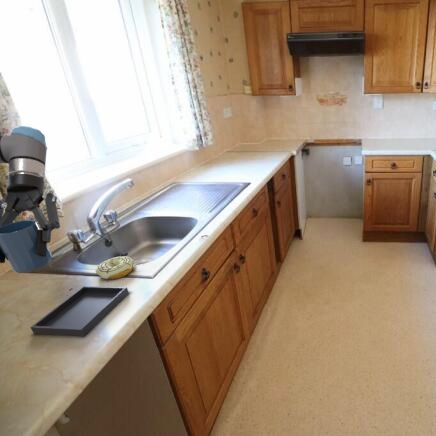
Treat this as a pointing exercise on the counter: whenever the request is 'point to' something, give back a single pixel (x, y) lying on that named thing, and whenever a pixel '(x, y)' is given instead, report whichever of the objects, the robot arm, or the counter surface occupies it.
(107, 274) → the decorated donut
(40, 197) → the robot arm
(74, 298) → the serving tray
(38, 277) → the counter surface
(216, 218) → the counter surface
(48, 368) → the counter surface
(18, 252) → the tea cup
